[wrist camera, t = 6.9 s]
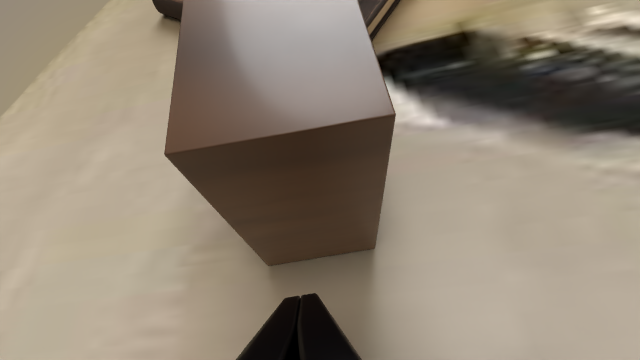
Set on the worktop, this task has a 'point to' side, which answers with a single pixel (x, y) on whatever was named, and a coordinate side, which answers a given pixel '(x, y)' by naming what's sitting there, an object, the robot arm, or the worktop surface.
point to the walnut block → (283, 123)
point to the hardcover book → (373, 3)
